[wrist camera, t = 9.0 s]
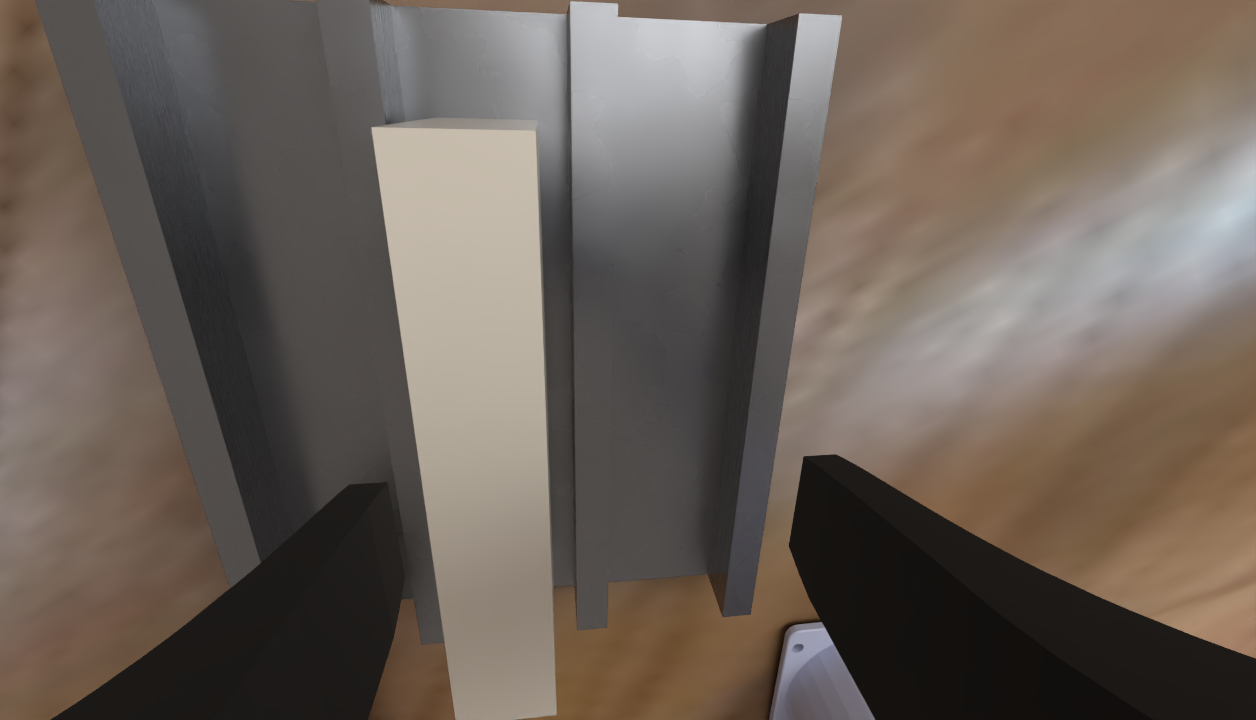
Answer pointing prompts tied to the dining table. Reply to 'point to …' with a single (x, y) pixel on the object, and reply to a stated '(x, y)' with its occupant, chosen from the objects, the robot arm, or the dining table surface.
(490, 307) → the clay strip
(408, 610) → the dining table surface
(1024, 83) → the dining table surface
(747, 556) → the grey grooved block
